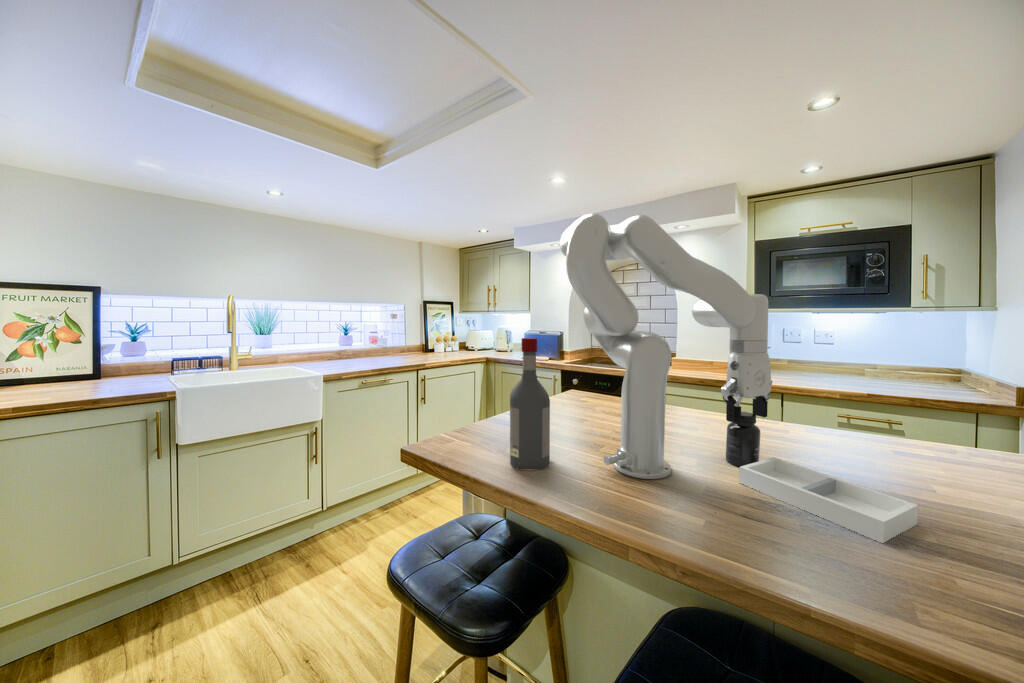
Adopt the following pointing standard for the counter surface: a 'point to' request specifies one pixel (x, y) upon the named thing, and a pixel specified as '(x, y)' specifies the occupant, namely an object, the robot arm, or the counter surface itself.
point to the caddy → (831, 498)
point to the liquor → (529, 415)
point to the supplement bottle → (743, 441)
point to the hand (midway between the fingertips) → (746, 418)
